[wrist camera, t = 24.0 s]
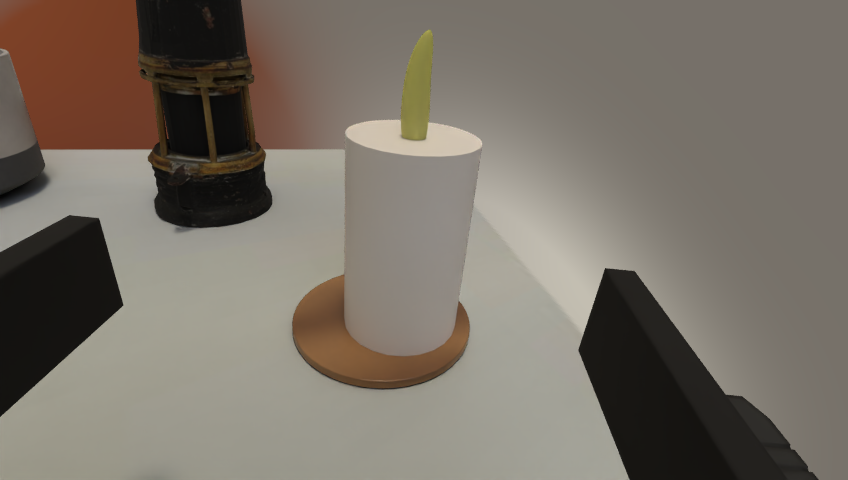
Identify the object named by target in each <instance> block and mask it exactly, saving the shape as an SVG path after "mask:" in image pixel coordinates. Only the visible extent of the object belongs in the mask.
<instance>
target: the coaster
mask: <svg viewBox="0 0 848 480" xmlns="http://www.w3.org/2000/svg"><path fill="white" fill-rule="evenodd" d="M292 326H293V338H294V341H295V344H296V346H297V348H298V350H299V352H300V353H301V355H302V356H303V357H304V359H305V360H306V361H307V362H308V363H309V364H310V365H311V366H313V367H314V368H315V369H317V370H318V371H320V372H321V373H323V374H325V375H327V376H329V377H331V378H333V379H335V380H338V381H341V382H343V383H347V384H351V385H355V386H361V387H368V388H398V387H404V386H410V385H414V384H418V383H422V382H424V381H427V380H429V379H432V378H434V377H436V376H438V375H440V374H441V373H443V372H445V371H446V370H447V369H449V368H450V367H451V366H452V365H453V364H454V363H455V362H456V361H457V360H458V359H459V358H460V356H461V355H462V354H463V352H464V350H465V348H466V346H467V342H468V338H469V330H470V324H469V319H468V316H467V313H466V311H465V309H464V307H463V306H462V304H461V303H460V302H459V301H458V308H457V314H456V321H455V327H454V330H453V333H452V336H451V337H450V338H449V339H448V340H447V341H446V342H445V344H443V345H442V346H440V347H438V348H437V349H435V350H433V351H430V352H427V353H424V354H421V355H413V356H392V355H386V354H382V353H378V352H375V351H372V350H370V349H368V348H366V347H364V346H362V345H360V344H359V343H358V342H357V341H356V340H355V339H353V338H352V337H351V336H350V334H349V332H348V330H347V329H346V326H345V319H344V275H341V276H338V277H335V278H332V279H330V280H328V281H326V282H324V283H322V284H320V285H318V286H317V287H315V288H314V289H312V290H311V291H310V292H309V293H308V294H307V295H306V296H305V297H304V298H303V299H302V300H301V301H300V303H299V305H298V306H297V308H296V310H295V313H294V316H293V322H292Z"/></svg>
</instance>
